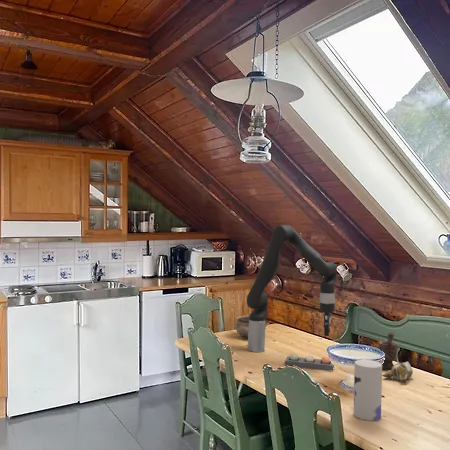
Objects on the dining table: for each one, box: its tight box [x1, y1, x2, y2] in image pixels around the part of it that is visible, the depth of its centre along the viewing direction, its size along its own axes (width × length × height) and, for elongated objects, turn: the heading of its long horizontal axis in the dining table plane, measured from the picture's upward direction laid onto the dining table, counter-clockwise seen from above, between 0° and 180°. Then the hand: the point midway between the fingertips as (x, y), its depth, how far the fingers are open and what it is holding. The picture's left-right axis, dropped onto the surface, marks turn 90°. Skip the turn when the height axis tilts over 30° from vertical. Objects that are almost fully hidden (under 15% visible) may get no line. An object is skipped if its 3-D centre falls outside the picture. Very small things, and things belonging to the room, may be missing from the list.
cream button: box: [305, 355, 315, 363], centre depth 241 cm, size 4×4×3 cm
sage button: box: [289, 353, 299, 361], centre depth 243 cm, size 4×4×3 cm
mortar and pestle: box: [378, 331, 398, 371], centre depth 237 cm, size 12×9×20 cm
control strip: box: [284, 355, 335, 372], centre depth 241 cm, size 24×9×2 cm, turn 74°
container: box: [353, 359, 383, 422], centre depth 179 cm, size 10×10×20 cm
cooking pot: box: [231, 315, 270, 340], centre depth 296 cm, size 25×19×12 cm
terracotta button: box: [321, 357, 331, 364], centre depth 238 cm, size 4×4×3 cm
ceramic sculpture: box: [382, 361, 414, 383], centre depth 223 cm, size 11×9×15 cm
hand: (327, 334), depth 238 cm, fingers open, 7 cm apart
